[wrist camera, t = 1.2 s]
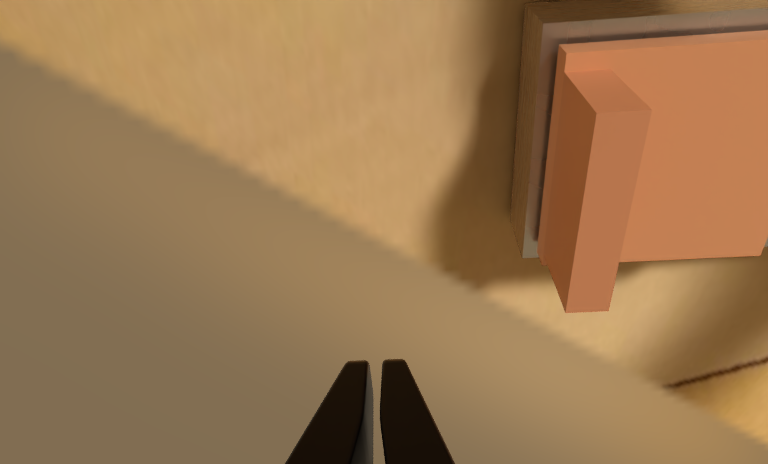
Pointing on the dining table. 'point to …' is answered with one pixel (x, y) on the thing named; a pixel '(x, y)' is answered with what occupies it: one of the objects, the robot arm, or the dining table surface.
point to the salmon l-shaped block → (653, 157)
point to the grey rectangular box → (582, 25)
